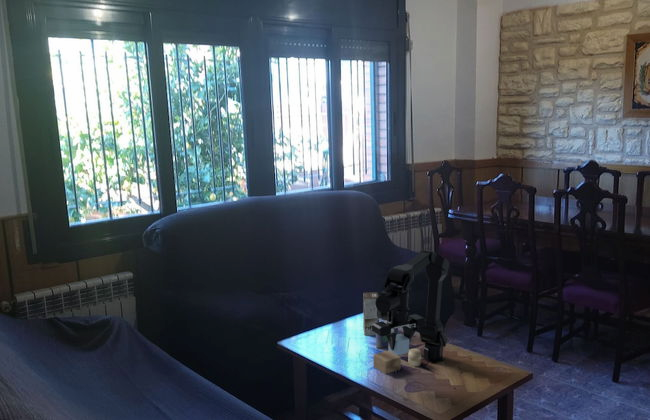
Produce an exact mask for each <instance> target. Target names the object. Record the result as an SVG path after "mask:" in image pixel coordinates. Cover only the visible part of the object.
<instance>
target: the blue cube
mask: <svg viewBox="0 0 650 420" xmlns="http://www.w3.org/2000/svg"><path fill="white" fill-rule="evenodd" d="M388 350H389V351H390V352H392V353H394V354H395V355H397V356H401V355H404V354H408V353H409V350H410V341H409V338H407V337H405V336H404V335H403V334H402V333H398V334H397V335H396V341H395V347H394V350H393V351H392V350H391V348H390V345H388ZM388 350H387V351H388Z"/></svg>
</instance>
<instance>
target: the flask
mask: <svg viewBox="0 0 650 420" xmlns="http://www.w3.org/2000/svg"><path fill="white" fill-rule="evenodd" d="M384 323H386V324H390V323H391V322H388V321H387V319H384ZM394 333H396V335H397V334H399V328H395V329H394ZM375 337H376V339H375V340H376V343H375V347H376V348H377V349H380V350H381V349H387V348H388V345H389V343H388V340H387V337H386V336H380V335H378V334H376V335H375Z"/></svg>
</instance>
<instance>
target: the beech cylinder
mask: <svg viewBox="0 0 650 420" xmlns="http://www.w3.org/2000/svg"><path fill="white" fill-rule="evenodd" d="M407 355H408V356H407V357H408V358H407V359H408V361H407V362H408V363H407V364H408V365H409V366H410V367H420V366H421V364H422V350H421V349H419V348H409V353H407Z"/></svg>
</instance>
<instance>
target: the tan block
mask: <svg viewBox="0 0 650 420" xmlns="http://www.w3.org/2000/svg"><path fill="white" fill-rule="evenodd" d="M401 361H402V357H401V355H398V356H397V355H395V354H394V353H392V352H390V351H389V350H385V351H381V352H378V353H374V354H373V368H375V369H376V368H377V369H376V370H377V371H379V370H380V372H381V373H382V372H383V373H382V374H384V375H387V373H388V374H391V373H394V371H395V372H397V370H398V371H400V369H401V368H402V367H401V365H402V362H401ZM390 372H391V373H390Z"/></svg>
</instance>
